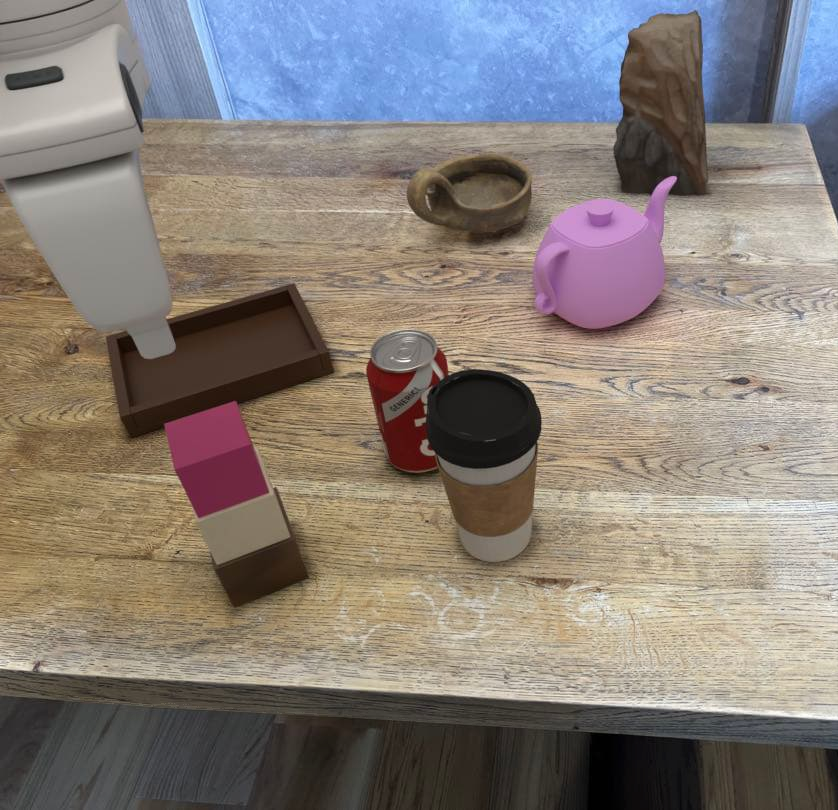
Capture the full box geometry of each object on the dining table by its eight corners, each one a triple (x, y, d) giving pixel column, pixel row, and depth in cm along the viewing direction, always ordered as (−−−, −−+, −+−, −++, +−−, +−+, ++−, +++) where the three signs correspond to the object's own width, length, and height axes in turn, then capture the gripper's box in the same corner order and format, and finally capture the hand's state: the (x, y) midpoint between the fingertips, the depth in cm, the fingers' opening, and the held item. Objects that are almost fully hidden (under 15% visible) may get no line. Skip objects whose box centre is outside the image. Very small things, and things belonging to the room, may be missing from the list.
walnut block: (233, 608, 63) (214, 569, 60) (219, 553, 67) (200, 513, 64) (309, 578, 65) (294, 538, 62) (291, 526, 69) (276, 486, 66)
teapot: (579, 362, 84) (579, 264, 76) (499, 306, 92) (492, 212, 84) (709, 286, 93) (722, 192, 85) (627, 241, 101) (631, 151, 93)
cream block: (217, 565, 60) (195, 522, 57) (204, 514, 64) (182, 471, 60) (290, 537, 62) (274, 494, 58) (273, 489, 65) (257, 445, 62)
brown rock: (611, 194, 110) (615, 39, 96) (615, 152, 119) (619, 5, 105) (707, 196, 108) (724, 39, 95) (703, 153, 118) (719, 5, 104)
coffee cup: (467, 486, 72) (448, 353, 62) (559, 507, 70) (555, 373, 59) (429, 561, 66) (401, 428, 56) (528, 586, 64) (518, 452, 54)
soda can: (374, 471, 73) (348, 369, 65) (401, 420, 78) (380, 319, 70) (445, 483, 72) (428, 380, 64) (468, 431, 77) (455, 329, 69)
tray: (130, 438, 78) (119, 417, 76) (115, 357, 87) (105, 336, 85) (334, 372, 84) (328, 351, 82) (300, 303, 93) (294, 282, 91)
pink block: (198, 518, 57) (174, 469, 54) (187, 472, 60) (163, 423, 57) (269, 492, 59) (250, 443, 55) (254, 449, 62) (235, 400, 58)
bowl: (558, 219, 105) (556, 145, 99) (453, 274, 97) (443, 197, 90) (488, 184, 113) (482, 114, 106) (385, 232, 104) (371, 159, 98)
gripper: (-28, 13, 44) (79, 237, 53) (-41, 163, 30) (106, 429, 40) (96, -7, 46) (178, 212, 55) (136, 125, 32) (237, 387, 42)
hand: (148, 304), depth 47 cm, fingers open, 8 cm apart
